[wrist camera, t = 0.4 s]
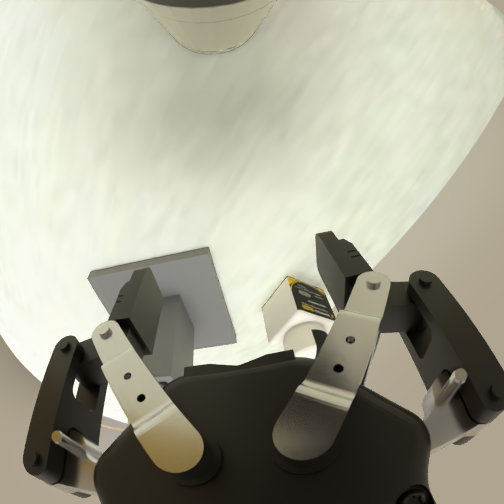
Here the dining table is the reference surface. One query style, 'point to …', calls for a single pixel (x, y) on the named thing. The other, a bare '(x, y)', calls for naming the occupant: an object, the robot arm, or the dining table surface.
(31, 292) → the dining table surface
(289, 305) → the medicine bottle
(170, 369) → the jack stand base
